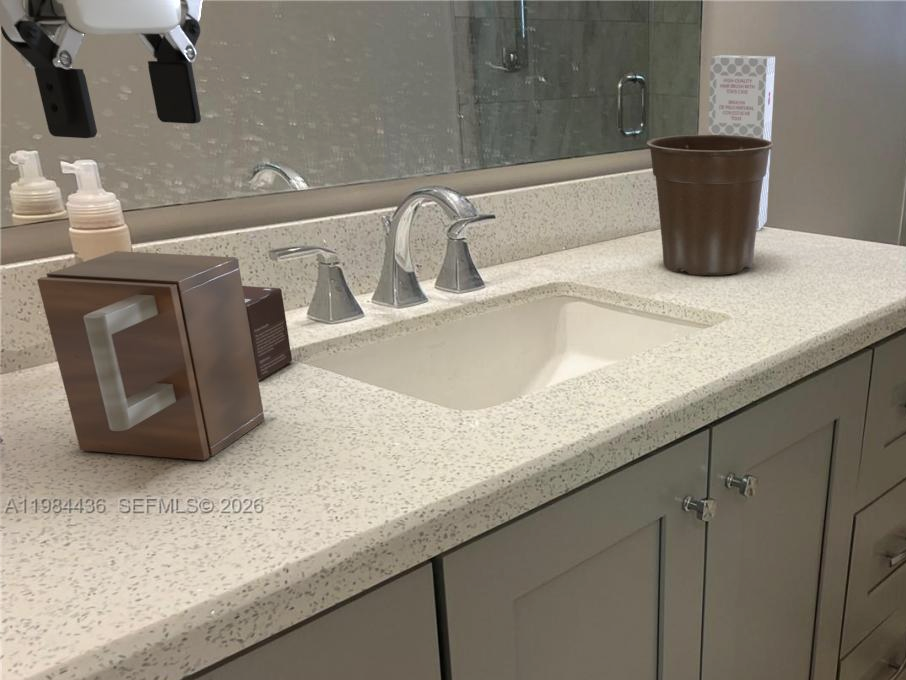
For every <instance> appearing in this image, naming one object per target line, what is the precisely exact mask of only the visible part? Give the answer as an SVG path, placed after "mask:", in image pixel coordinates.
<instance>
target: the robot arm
mask: <svg viewBox="0 0 906 680" xmlns="http://www.w3.org/2000/svg"><path fill="white" fill-rule="evenodd" d="M202 8H203V0H0V31H1V34H2V36H3V38H4V39H5V41H7V42H8V43H9V44H10V45H11V47H13V48H14V49H15V50H16V51H17V52H18V53H19V54H20V56H21V58H20V59H21V61H22V63H23V64H24V66H26V67H27V68H29V69H34V73H35V78H36V82H37V87H38V90H39V95H40V99H41V104H42V108H43V112H44V115H45V116H44V117H45V121H46V124H47V129H48V133H50V135H51V136H53V137H55V138H75V139H91V138H95V137H96V136H97V134H98V129H97V124H96V119H95V115H94V111H93V106H92V101H91V95H90V92H89V86H88V81H87V78H86V75H85V72H84V68H73V67H74V64H75V61H76V59H77V57H78V54H79V51H80V48H81V47H82V43H83V40H84V38H85V35H135V34H136V36H137V37H138V38H139V39H140V40H141V42H142V43H143V45H144V46H145V47H146V49H147V50H148V51H149V53H150V54H151V56H153V58H154V59H155V60H147V64H148V65H147V66H148V67H147V68H148V73H149V78H150V83H151V89H152V95H153V100H154V104H155V110H156V116H157V118H158V120H159V121H160V122H162V123H170V124H171V123H173V124H191V125H192V124H193V125H194V124H199V123H200V122H201V121H202V116H201V110H200V104H199V99H198V93H197V87H196V81H195V74H194V69H193V64H192V63H194V62H195V61H196V60H197V55H198V53H197V50H196V45H197V42H198V40H199V38H200V35H201V26H200V21H201V14H202ZM161 35H163V36H161ZM55 37H56V39H55ZM54 39H55V41H54Z"/></svg>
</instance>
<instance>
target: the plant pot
mask: <svg viewBox="0 0 906 680" xmlns="http://www.w3.org/2000/svg"><path fill="white" fill-rule="evenodd" d="M646 147H647V148H648V149H649V151H650V157H651V158H650V159H651V167H652V174H653V176H654V178H655V185H656V194H657V202H658V203H657V204H658V214H659V215H658V216H659V221H660V222H659V224H660V235H661V236H660V237H661V247H662V261H663V265H664V267H665V268H667V269H668V270H670V271H672V272H676V273H678V272H682V271H685V272H687V274H688V275H697V276H699V275H700V276H710V277H711V276H725V275H731V274H738V273H741V272H742V270H749V269H751V268H752V267H753V264H754V263H753V262H754V254H755V253H754V252H755V244H756V237H757V231H756V229H757V221H758V213H759V205H760V197H761V190H762V182H763V177H764V176H765V175H766V170H767V162H768V156H769V150H770V151H771V150H772V149H773V147H774V142H772V140H771V141H768V140H765V139H760V138H753V137H747V136H735V135H708V134H681V135H671V136H669V135H668V136H662V137H656V138H652V139H650V140H647V142H646Z"/></svg>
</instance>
